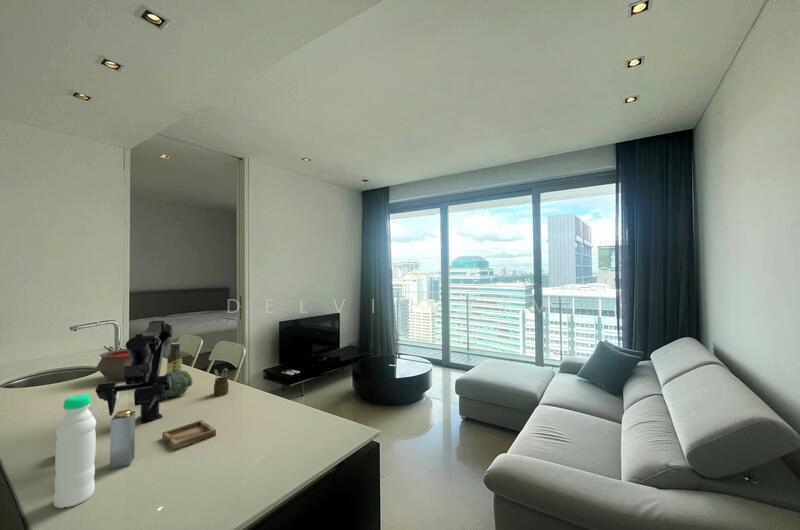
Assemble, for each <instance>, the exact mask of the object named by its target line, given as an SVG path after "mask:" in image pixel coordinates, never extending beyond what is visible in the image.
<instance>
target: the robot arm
mask: <svg viewBox="0 0 800 530" xmlns="http://www.w3.org/2000/svg"><path fill="white" fill-rule="evenodd" d="M173 335H174V330H173V326H172V325H170V324H169V323H166V321H165V320H151V321H149V323H148V326H147V327H146V329H145V331H144V332H143V333H139V334H138V333H136V334H135V335H134V337H132V338H129V339H128V340H127V341H126V342H125V349H126V348H127V351H128V354H129V357H130V359H132V360H131V364H130V366H125V367H124V370H123V376H122V377H124V380H123V381H122V382H124V383H125V384H118V385H116V382H114V381H113V382H111V381H107V382H106V381H105V382H100V383H98V385H97V386H96V388H95V391H94V392H95V393H96V395H97V397H98V399H99V400H103V401H104V402H107V408H108V412H109V414H108V415H109V416H113V413H114V411H115V407H116V402H117V397H116V396H117V394H118V393H119V392H125V391H132V390H133V393H134V394H133V399H134V401H133V402H134V406H135V407H136V406H140V412H139V413H140V414H139V415H140V416H137V418H136V419H137V420H138V421H139V422H140V423H141V424H143V423H148V422H150V421H154V420H157V419H161V418H163V415H162V414H161V413H160V403H162V402H164V401H166V399H167V398H166V393H165V392H166V391H167V390H170V389H171V379H170V376H169V375H165V374H164V375H160V373H161V367H162V363H163V362H162V361H163V357H164V352H165V348H166V347H167V346H168V345H169V344H171V338H173Z"/></svg>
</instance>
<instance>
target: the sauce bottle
mask: <svg viewBox="0 0 800 530" xmlns="http://www.w3.org/2000/svg"><path fill="white" fill-rule="evenodd" d="M180 350H181V342H173V343H171V342H170V353H169V355H168V356H167V363H166V373H167V372H169V371H173V370H175V369H178V370H181V371H183V369H182V368H183V358H182V355H181V351H180Z"/></svg>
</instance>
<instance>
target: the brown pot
mask: <svg viewBox="0 0 800 530" xmlns="http://www.w3.org/2000/svg"><path fill="white" fill-rule="evenodd" d="M99 356H100V357H101V359H100V360H99V362H98V364H97V366H96V367H95V368H96V370H97V371H98V372H99V373H101V375H103V376H104V378H106V379H107V380H108V382H113V381H114V382H115V383H119V382H124V381H123V380H124V377H122V376H123V370H124V367H125V366H130V364H131V360H132V359H130V357H129V354H128V351H127V348H126V347H125V348H120V349H115V350H114V347H113V346H109V347H108V349H107V351H106V352H104V353H101V354H99Z"/></svg>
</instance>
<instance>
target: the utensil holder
mask: <svg viewBox="0 0 800 530" xmlns="http://www.w3.org/2000/svg"><path fill="white" fill-rule="evenodd" d="M222 370H223V371H222V373H224V372H225V371H227V368H224V369H222ZM213 372H214V376H215V377H216V378H215V379H214V385H213V395H214V396H215V397H222V396H225V395H227V394H229V385H230V384H229V381H228V380H229V378H228V377H227V376H228V375H226V374H223V376H221V377H219V373H218V369H214V371H213Z"/></svg>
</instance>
